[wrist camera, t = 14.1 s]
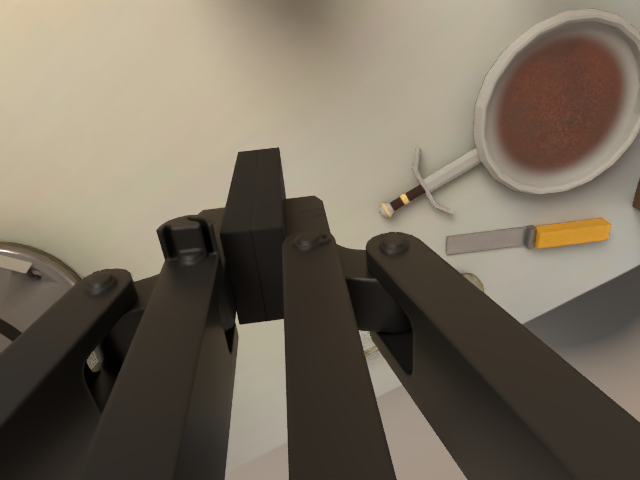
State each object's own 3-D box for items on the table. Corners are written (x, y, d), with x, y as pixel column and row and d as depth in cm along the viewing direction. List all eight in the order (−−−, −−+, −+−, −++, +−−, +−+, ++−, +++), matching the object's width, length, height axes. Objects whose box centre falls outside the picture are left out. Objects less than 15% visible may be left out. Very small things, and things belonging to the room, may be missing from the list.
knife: (445, 254, 51) (450, 261, 49) (446, 235, 49) (451, 242, 48) (598, 235, 51) (607, 241, 50) (602, 216, 50) (612, 222, 49)
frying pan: (339, 151, 41) (638, -38, 36) (336, 142, 44) (615, -36, 38) (419, 278, 49) (677, 138, 43) (412, 264, 51) (655, 130, 46)
